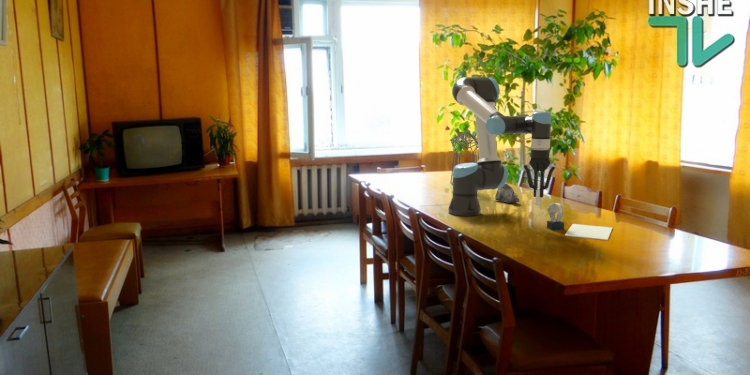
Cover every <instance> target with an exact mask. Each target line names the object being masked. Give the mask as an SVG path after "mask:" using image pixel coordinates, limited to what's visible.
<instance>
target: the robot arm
mask: <svg viewBox="0 0 750 375" xmlns="http://www.w3.org/2000/svg"><path fill="white" fill-rule="evenodd" d="M451 91H452V92H451V94H452V97H453V99H454V100H455V102H456V103H458V104H459V105H460V106H465V107H466V108H467V109H468V110H469V111H471V112H472V113H473V114H474V115H475V126H476V139H477V138H478V148H477V149H478V157H479V158H478V160H477V163H476V162H473V163H472V162H470V163H469V162H464V163H460V164H459V163H457V165H456V166H455V165H454V166H453V174H452V183H453V186H452V196H451V200H450V202H449V206H448V214H451V215H453V216H461V217H473V216H478V215H481V213H482V212H481V211H482V208H481V205H480V201H479V198H478V194H479V193H478V191H486V190H496V189H497V190H498V188H501V187H503V186H504V185H505V184H506V183H507V180H508V173H509V172H508V168H507V166H506V165H505V164H502V160H501V159H500V158H499V157H498V146H497V138H496V135H499V136H500V135H513V134H514V135H519V134H520V135H521V134H530V135H531V141H530V142H531V144H530V148H531V150H530V160H529V162H528V163H527V164H525V165H523V168H524V169H525V170H524V171H526V172H525V173H526V176H527V183H528V186H529V188H531V189H532V190H533V197H534V198H535V206H541V204H542V202H541V200H542V198H543V197H544V191H545V190H546V189H548V188H549V186H550V183H551V179H552V176H553V173H554V171H555V169H556V168H557V167H556V165H553V164H551V161H550V148H551V133H552V132H551V131H552V130H551V129H552V128H551V127H552V113H551V112H549V111H534V112H532V115H504V114H502V113H501V112H500V111H499V110H498V109H496V108H495V107H494V106H496V101H497V100H498V99H499V98H500V94H501V93H500V92H501V90H500V85H499V84H498V82H497V80H496V79H494V78H493V77H486V76H473V77H472V76H465V77H461V78H459V79H457V80H456V81H455V82H454V85H453V87H452V88H451ZM531 168H532V170H533V176H532V172H531ZM547 169H548V170H549V171H548V174H547V177H546V180H545V173H546V170H547ZM539 174H540V175H539ZM539 176H540V177H539Z"/></svg>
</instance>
